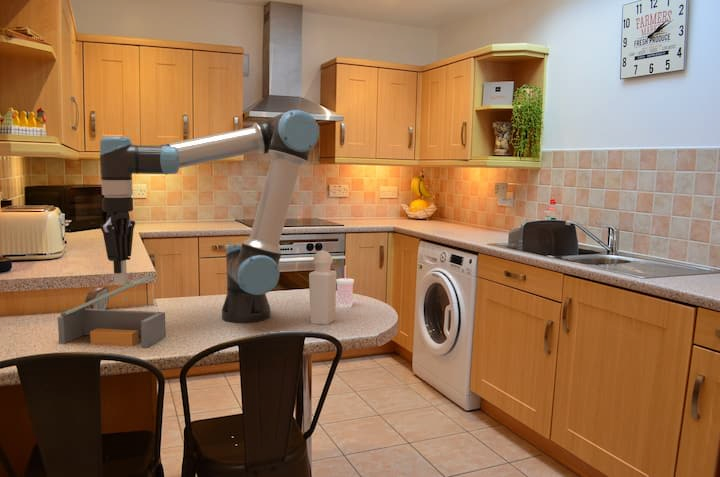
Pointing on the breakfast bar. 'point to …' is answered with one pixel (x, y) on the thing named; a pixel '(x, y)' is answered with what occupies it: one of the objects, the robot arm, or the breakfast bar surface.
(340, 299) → the beverage cup
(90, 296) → the tin
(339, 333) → the breakfast bar surface
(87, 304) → the cover
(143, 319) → the grey u-shaped bracket
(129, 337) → the orange block
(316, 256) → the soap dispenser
